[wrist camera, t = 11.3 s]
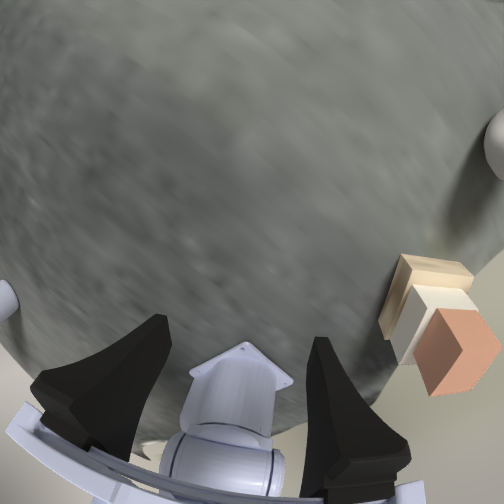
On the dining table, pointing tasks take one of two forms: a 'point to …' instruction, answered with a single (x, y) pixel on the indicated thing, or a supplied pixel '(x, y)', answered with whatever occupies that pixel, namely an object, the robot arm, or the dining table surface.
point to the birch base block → (419, 274)
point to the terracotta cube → (455, 351)
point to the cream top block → (423, 317)
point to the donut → (495, 144)
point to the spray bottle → (7, 301)
